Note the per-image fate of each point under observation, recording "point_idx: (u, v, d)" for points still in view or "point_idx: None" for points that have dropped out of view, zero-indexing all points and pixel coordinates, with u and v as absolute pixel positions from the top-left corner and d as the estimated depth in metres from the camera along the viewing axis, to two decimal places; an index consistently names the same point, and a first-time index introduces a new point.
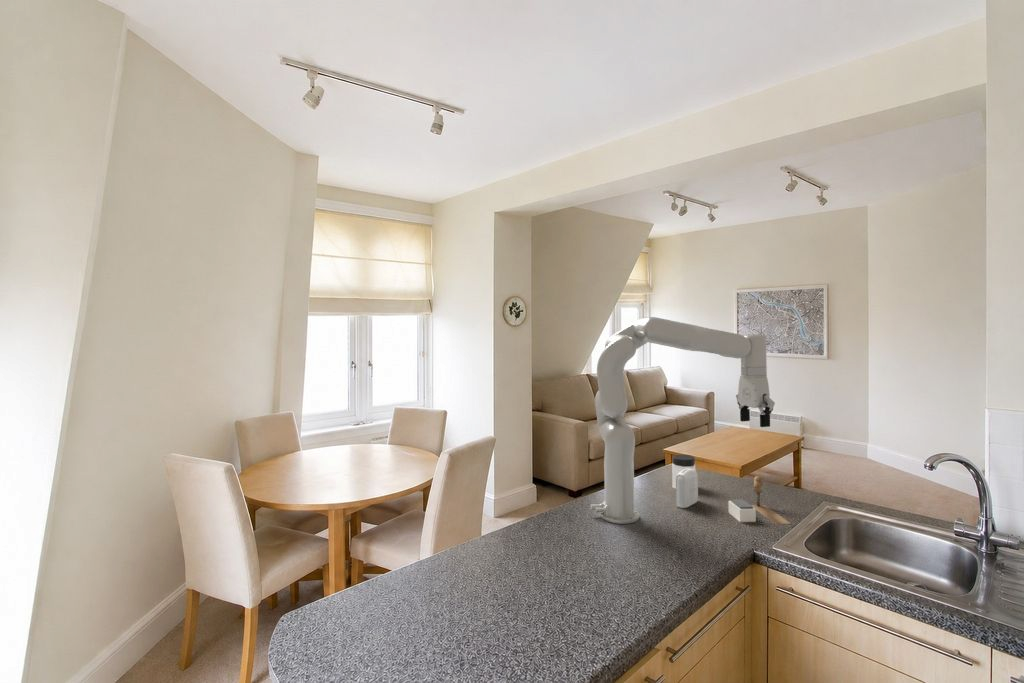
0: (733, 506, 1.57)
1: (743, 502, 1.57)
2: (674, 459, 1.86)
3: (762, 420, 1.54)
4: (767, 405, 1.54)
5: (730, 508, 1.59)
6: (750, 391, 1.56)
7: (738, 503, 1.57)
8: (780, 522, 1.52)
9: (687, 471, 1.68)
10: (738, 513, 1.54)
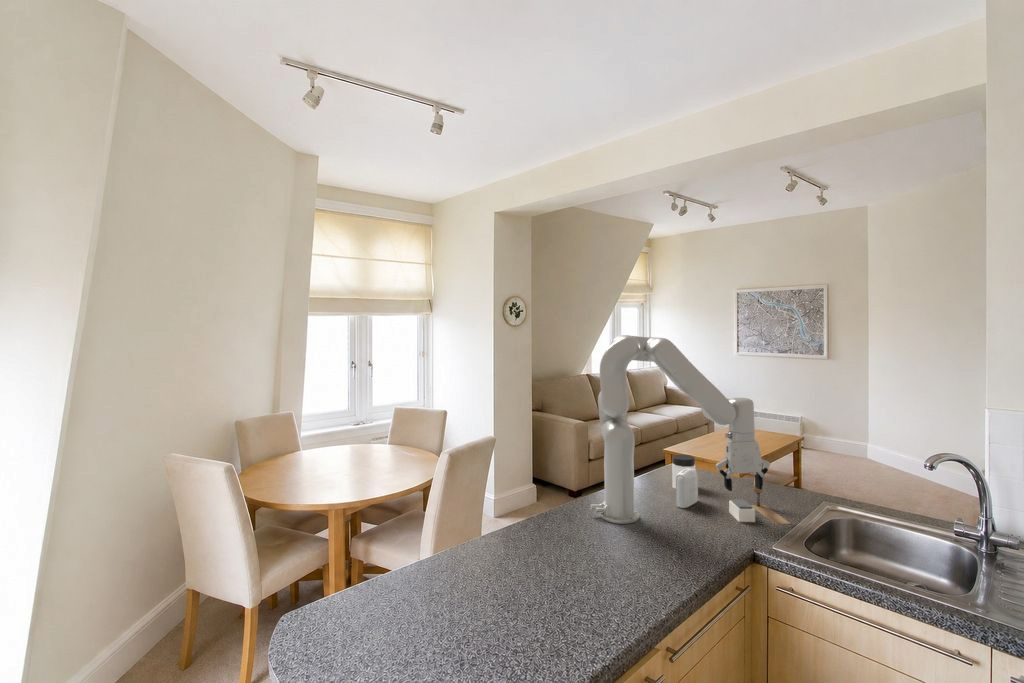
0: (733, 506, 1.57)
1: (743, 502, 1.57)
2: (674, 459, 1.86)
3: None
4: None
5: (730, 508, 1.60)
6: (752, 457, 1.54)
7: (738, 503, 1.57)
8: (780, 522, 1.52)
9: (687, 471, 1.68)
10: (737, 512, 1.54)
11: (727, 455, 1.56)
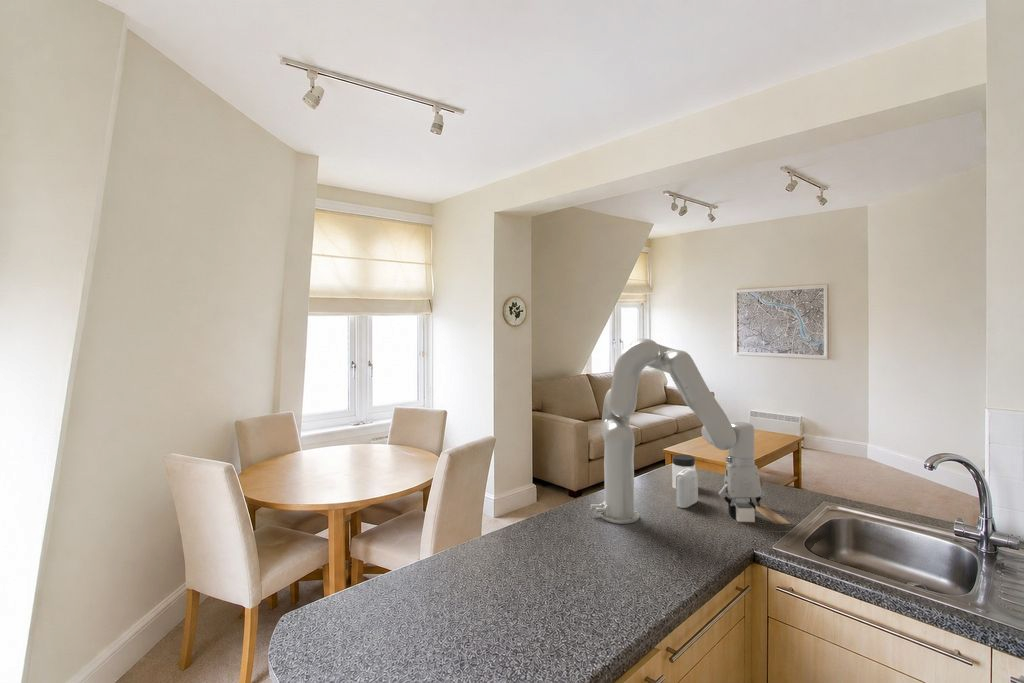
0: None
1: (743, 502, 1.57)
2: (674, 459, 1.86)
3: None
4: None
5: None
6: (751, 482, 1.54)
7: (738, 502, 1.57)
8: (780, 522, 1.52)
9: (687, 471, 1.68)
10: (737, 512, 1.54)
11: (726, 479, 1.56)
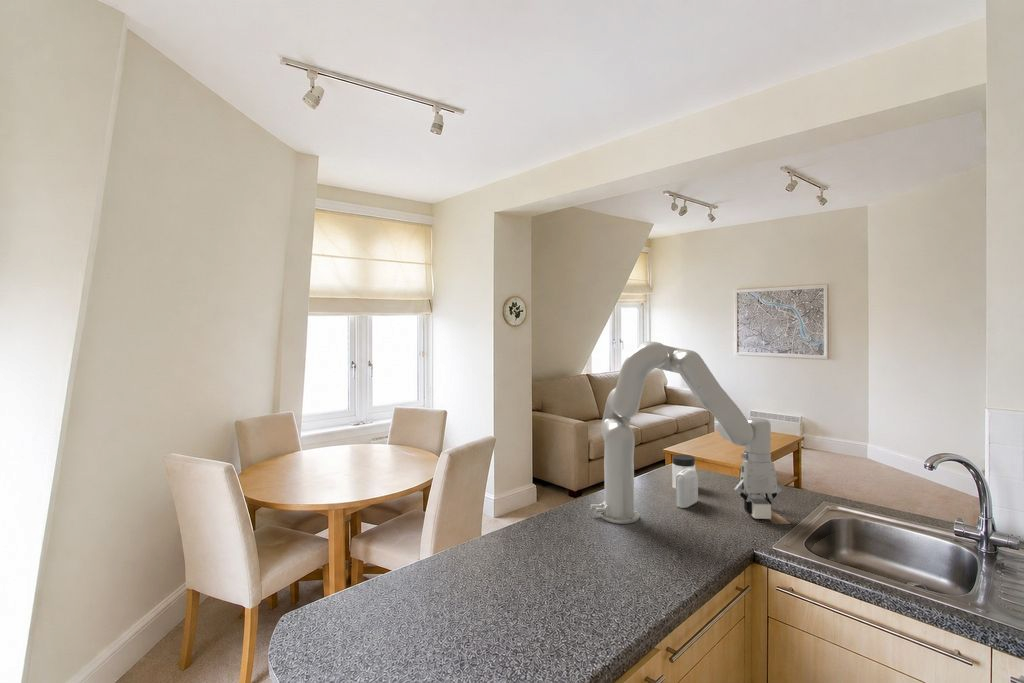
0: None
1: (759, 497, 1.57)
2: (674, 459, 1.86)
3: None
4: None
5: None
6: (768, 478, 1.54)
7: (754, 498, 1.57)
8: (780, 522, 1.52)
9: (687, 471, 1.68)
10: (753, 508, 1.54)
11: (742, 475, 1.56)
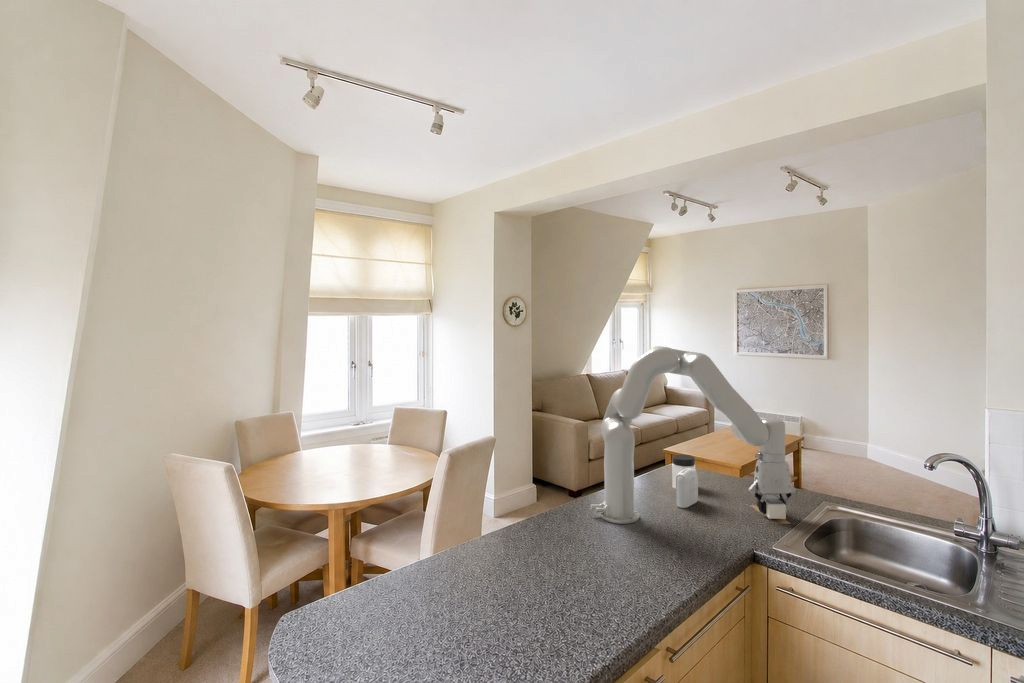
0: None
1: (774, 498, 1.57)
2: (674, 459, 1.86)
3: None
4: None
5: None
6: (782, 478, 1.54)
7: (768, 498, 1.57)
8: (780, 522, 1.52)
9: (687, 471, 1.68)
10: (768, 508, 1.54)
11: (757, 475, 1.56)
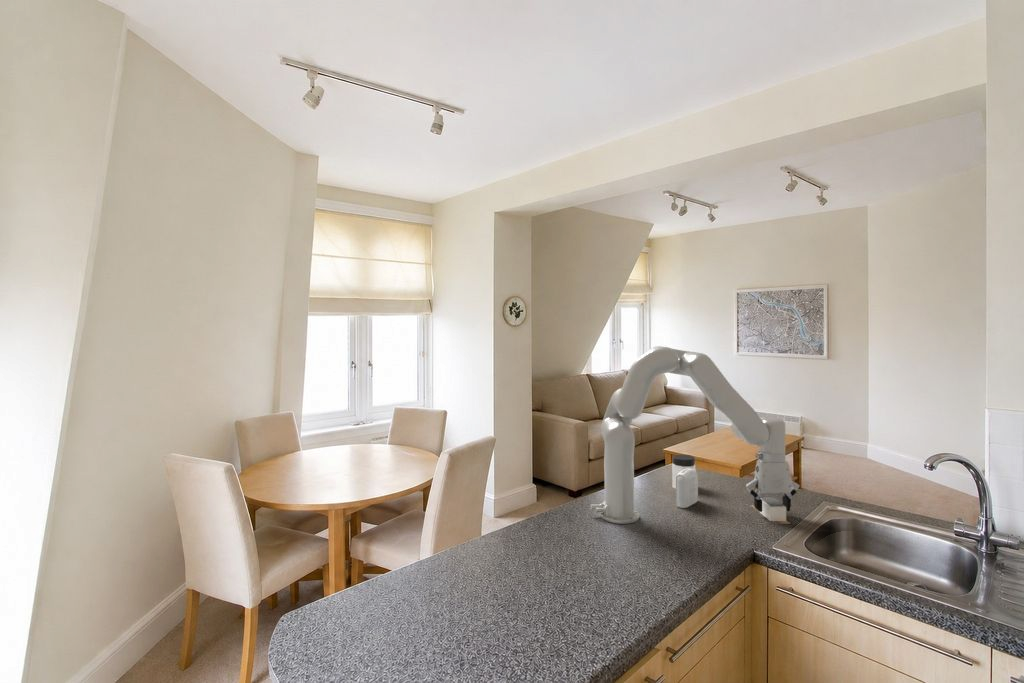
0: (763, 504, 1.58)
1: (773, 500, 1.57)
2: (674, 459, 1.86)
3: None
4: None
5: None
6: (783, 477, 1.54)
7: (768, 501, 1.57)
8: (780, 522, 1.52)
9: (687, 471, 1.68)
10: (768, 510, 1.54)
11: (757, 475, 1.56)
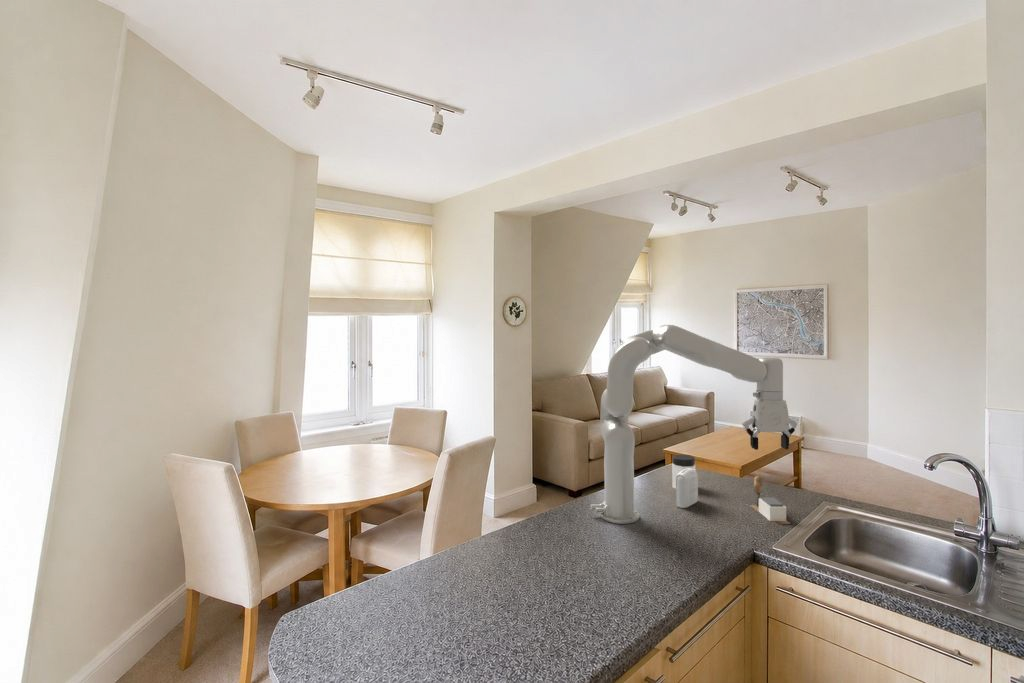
0: (763, 504, 1.58)
1: (773, 500, 1.57)
2: (674, 459, 1.86)
3: None
4: None
5: (760, 506, 1.60)
6: (780, 415, 1.54)
7: (768, 501, 1.57)
8: (780, 522, 1.52)
9: (687, 471, 1.68)
10: (768, 510, 1.54)
11: (754, 414, 1.56)
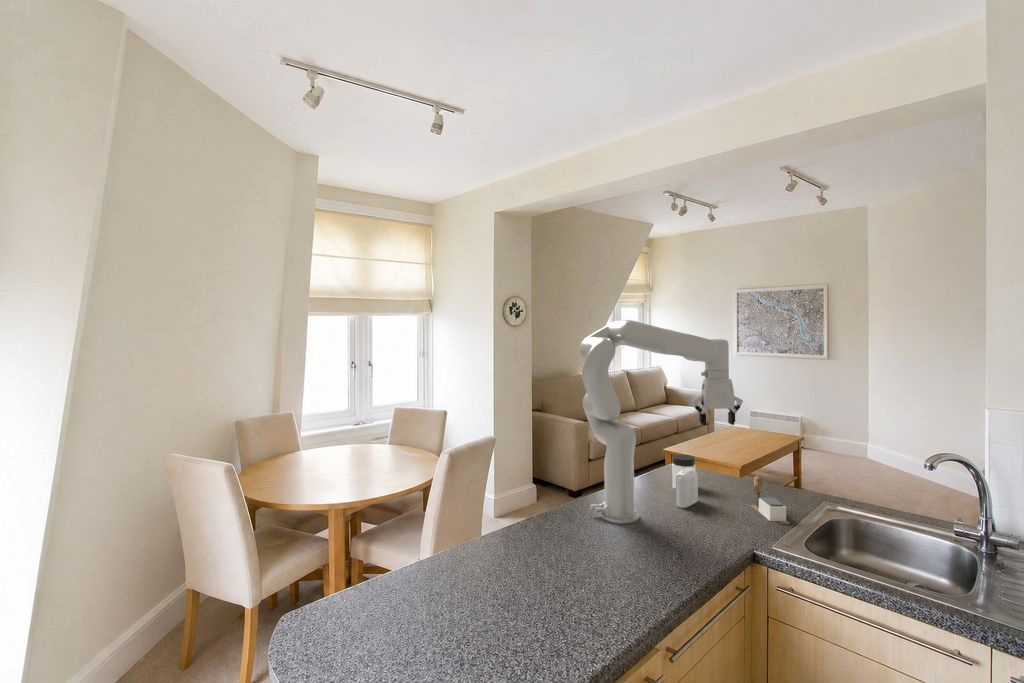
0: (763, 504, 1.58)
1: (773, 500, 1.57)
2: (674, 459, 1.86)
3: None
4: None
5: (760, 506, 1.60)
6: (726, 393, 1.64)
7: (768, 501, 1.57)
8: (780, 522, 1.52)
9: (687, 471, 1.68)
10: (768, 510, 1.54)
11: (702, 392, 1.67)
